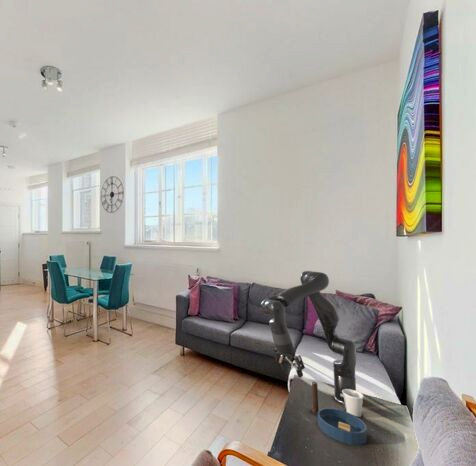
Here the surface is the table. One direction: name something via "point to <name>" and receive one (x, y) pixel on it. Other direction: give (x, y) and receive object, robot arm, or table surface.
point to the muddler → (315, 397)
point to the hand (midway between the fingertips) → (292, 373)
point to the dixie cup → (353, 401)
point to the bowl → (329, 426)
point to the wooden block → (344, 426)
